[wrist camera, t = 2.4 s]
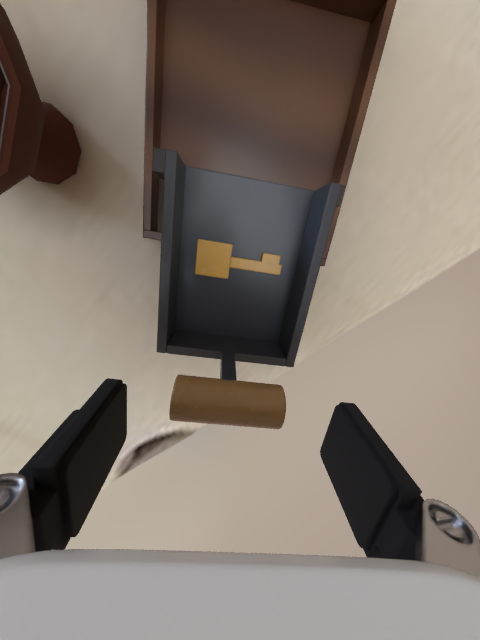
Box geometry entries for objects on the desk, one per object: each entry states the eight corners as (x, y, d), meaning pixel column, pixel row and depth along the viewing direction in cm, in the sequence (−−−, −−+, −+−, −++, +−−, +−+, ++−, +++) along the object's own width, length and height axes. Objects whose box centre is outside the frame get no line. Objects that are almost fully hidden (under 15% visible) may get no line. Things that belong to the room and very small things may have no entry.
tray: (160, -40, 15) (115, -228, 9) (376, 20, 17) (463, -105, 11) (152, 237, 21) (120, 238, 15) (314, 263, 22) (347, 273, 16)
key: (195, 273, 16) (194, 274, 15) (198, 238, 15) (197, 238, 15) (276, 285, 16) (277, 286, 16) (283, 252, 16) (284, 253, 15)
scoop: (177, 166, 14) (113, 76, 6) (319, 193, 15) (425, 146, 7) (167, 341, 18) (120, 426, 10) (281, 354, 19) (321, 442, 11)
